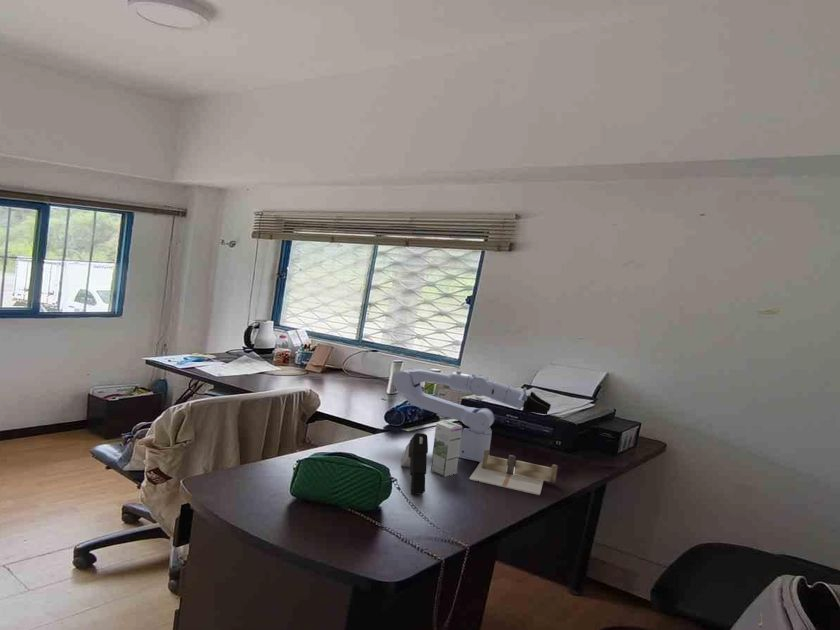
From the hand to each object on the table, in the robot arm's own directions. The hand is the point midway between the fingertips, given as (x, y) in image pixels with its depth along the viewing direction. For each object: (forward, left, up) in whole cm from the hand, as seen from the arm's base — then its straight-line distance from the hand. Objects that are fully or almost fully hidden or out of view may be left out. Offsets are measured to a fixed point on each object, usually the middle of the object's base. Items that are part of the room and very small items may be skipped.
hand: (549, 409), depth 179 cm
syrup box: (-26, -20, -20) cm, 39 cm away
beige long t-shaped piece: (-1, -9, -19) cm, 21 cm away
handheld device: (-32, -32, -20) cm, 50 cm away
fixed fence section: (-12, -9, -20) cm, 25 cm away
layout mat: (-8, -11, -20) cm, 24 cm away
